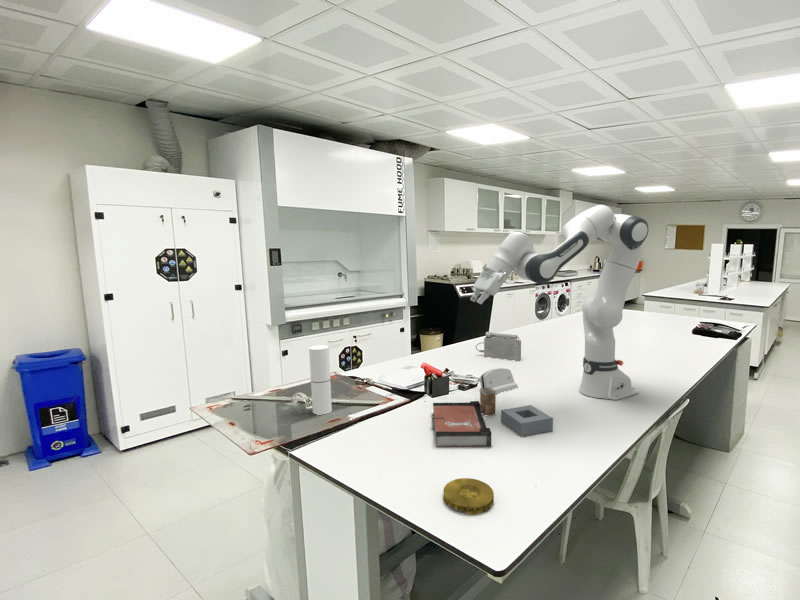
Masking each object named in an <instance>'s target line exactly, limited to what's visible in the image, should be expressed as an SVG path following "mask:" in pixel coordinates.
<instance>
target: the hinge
mask: <svg viewBox="0 0 800 600" xmlns="http://www.w3.org/2000/svg"><path fill="white" fill-rule="evenodd" d="M479 382H480V388H486V387H491V388H493V389H494V390H496V395H498V394H497V393H499V394H502V393H501V392H503V393H505V392H504V391H506V392H509V391H508V390H510V391H513V390H512V389H514V390H516V389H515V388H517V389H519V386H518V384H517V382H516V381H515V378H514V376H513V374H512V371H511V369H508V368H502V367H501V368H499V367H498V368H497V367H496V368H493V369H489V370H487V371H486V372H484V373H482V374H481V375H479Z"/></svg>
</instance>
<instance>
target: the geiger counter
mask: <svg viewBox="0 0 800 600" xmlns="http://www.w3.org/2000/svg"><path fill="white" fill-rule="evenodd" d="M483 340H484V341H483V342H479V343H477V344H476V345H475V350H477V352H479V353H483V354H484V355H483V357H484V358H488V357H491V358H490V359H496V358H499V359H498V360H504V359H507V360H506V361H512V360H515V361H514V362H521V361H522V340H521V339H520V337H519V336H518V334H510V333H509V334H508V333H499V332H492V331H486V332H485V337H484V339H483ZM480 344H483V346H484V347H483V349H478V348H477V347H478V345H480ZM520 360H521V361H520Z"/></svg>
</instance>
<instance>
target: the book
mask: <svg viewBox="0 0 800 600" xmlns="http://www.w3.org/2000/svg"><path fill="white" fill-rule="evenodd" d="M432 407H433V413H432V419H431V421H432V422H431V423H432V424H431V425H432V430H434V437H435V439H434V440H435V447H436V448H487V446H488V448H490V447H489V446H491V447H492V431H491V428H490V427H487V424H486V422H485V419H484V417H483V414H482V413H481V411H480V400H472V401H470V402H469V401H468V402H432ZM478 446H479V447H478ZM483 446H484V447H483ZM485 446H486V447H485Z"/></svg>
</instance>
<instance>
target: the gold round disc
mask: <svg viewBox="0 0 800 600" xmlns="http://www.w3.org/2000/svg"><path fill="white" fill-rule="evenodd" d="M494 495H495V494H494V489H492V487H491V486H490V485H489V484H488V483H486V482H484V481H482V480H480V479H476V478H469V477H467V478H465V477H463V478H457V479H454V480H453V479H452V480H451V481H448V482H447V483H446V484H445V486H444V487H443V502H444V503H445V505H448V506H449V507H450V508H452V509H454V510H456V511H459V512H464V513H466V515H479V514H482V513H483V512H484V511H486V510H488V509H490V508H491V507H492V506H493V504H494V500H495V499H494V497H495V496H494Z"/></svg>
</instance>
